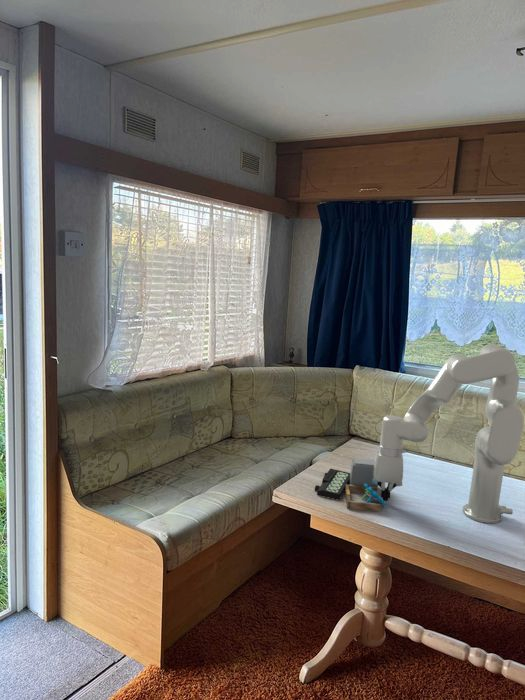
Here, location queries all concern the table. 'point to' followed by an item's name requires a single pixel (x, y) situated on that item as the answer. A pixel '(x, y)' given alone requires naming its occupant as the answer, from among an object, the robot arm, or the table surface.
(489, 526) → the table surface
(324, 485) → the digital display
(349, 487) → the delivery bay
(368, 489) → the gear
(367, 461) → the box
